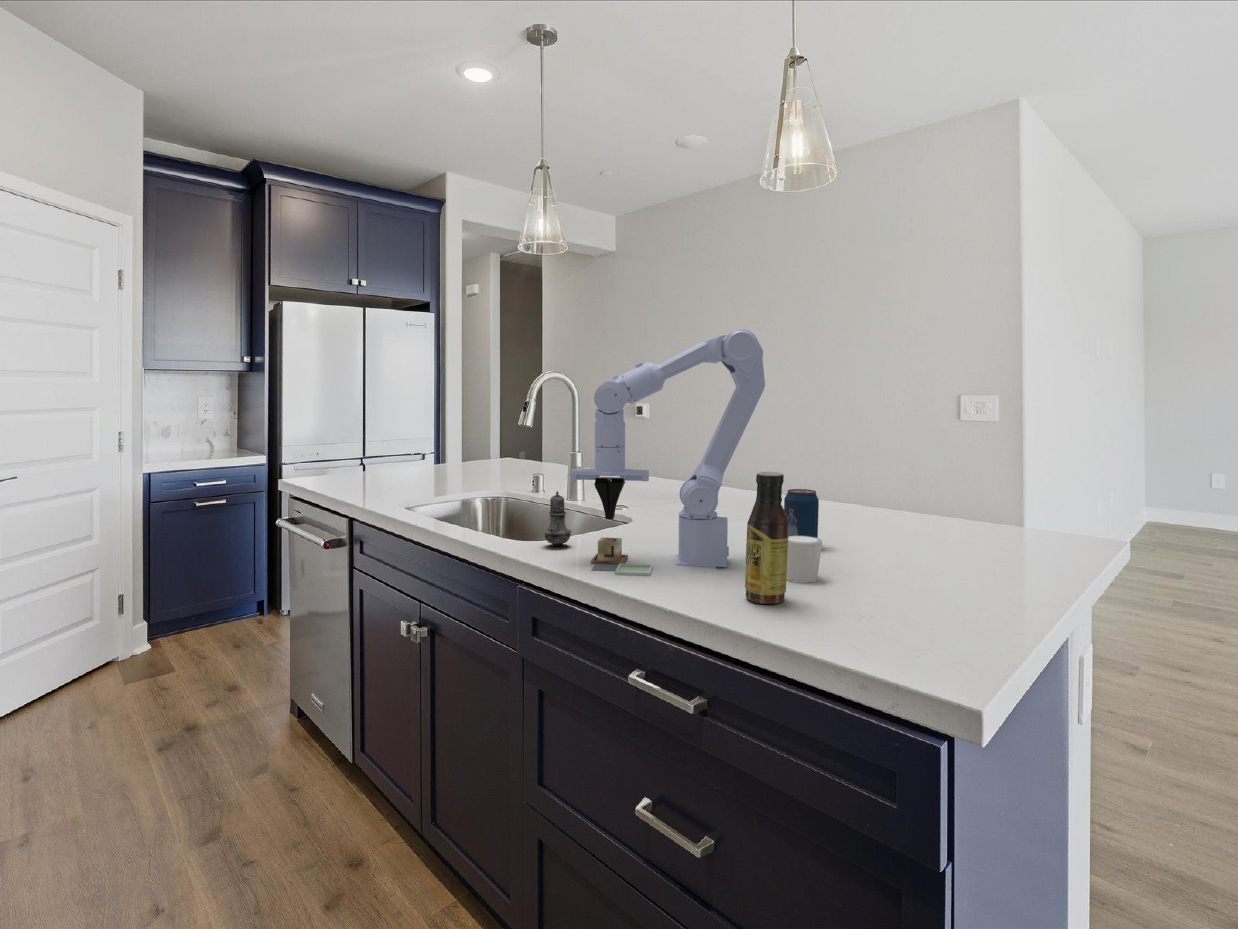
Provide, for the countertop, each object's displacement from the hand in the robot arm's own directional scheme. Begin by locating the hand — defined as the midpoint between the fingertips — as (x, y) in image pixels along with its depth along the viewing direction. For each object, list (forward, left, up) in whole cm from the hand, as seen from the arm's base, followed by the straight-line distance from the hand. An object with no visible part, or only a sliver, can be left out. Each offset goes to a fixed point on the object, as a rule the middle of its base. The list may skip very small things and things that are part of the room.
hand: (609, 518), depth 129 cm
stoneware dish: (-6, +7, -8) cm, 12 cm away
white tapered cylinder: (-34, +7, -9) cm, 36 cm away
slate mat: (0, +6, -8) cm, 10 cm away
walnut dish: (0, 0, -8) cm, 8 cm away
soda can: (-38, -18, -9) cm, 43 cm away
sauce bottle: (-28, +21, -9) cm, 36 cm away
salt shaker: (+12, -10, -9) cm, 18 cm away
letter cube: (0, 0, -8) cm, 8 cm away
